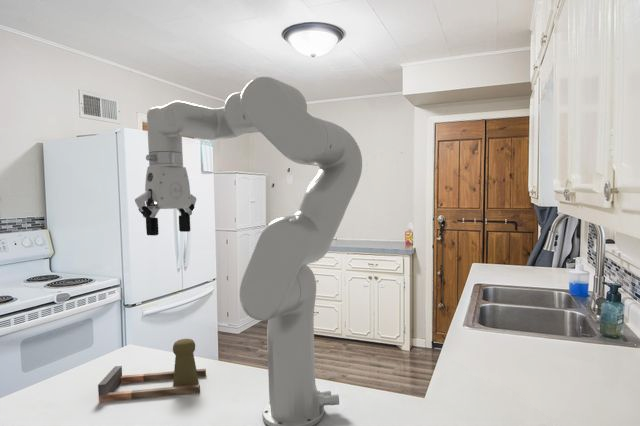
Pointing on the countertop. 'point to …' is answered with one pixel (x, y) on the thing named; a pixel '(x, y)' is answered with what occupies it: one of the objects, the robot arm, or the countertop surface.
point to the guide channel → (115, 379)
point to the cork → (184, 363)
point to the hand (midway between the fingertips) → (169, 233)
